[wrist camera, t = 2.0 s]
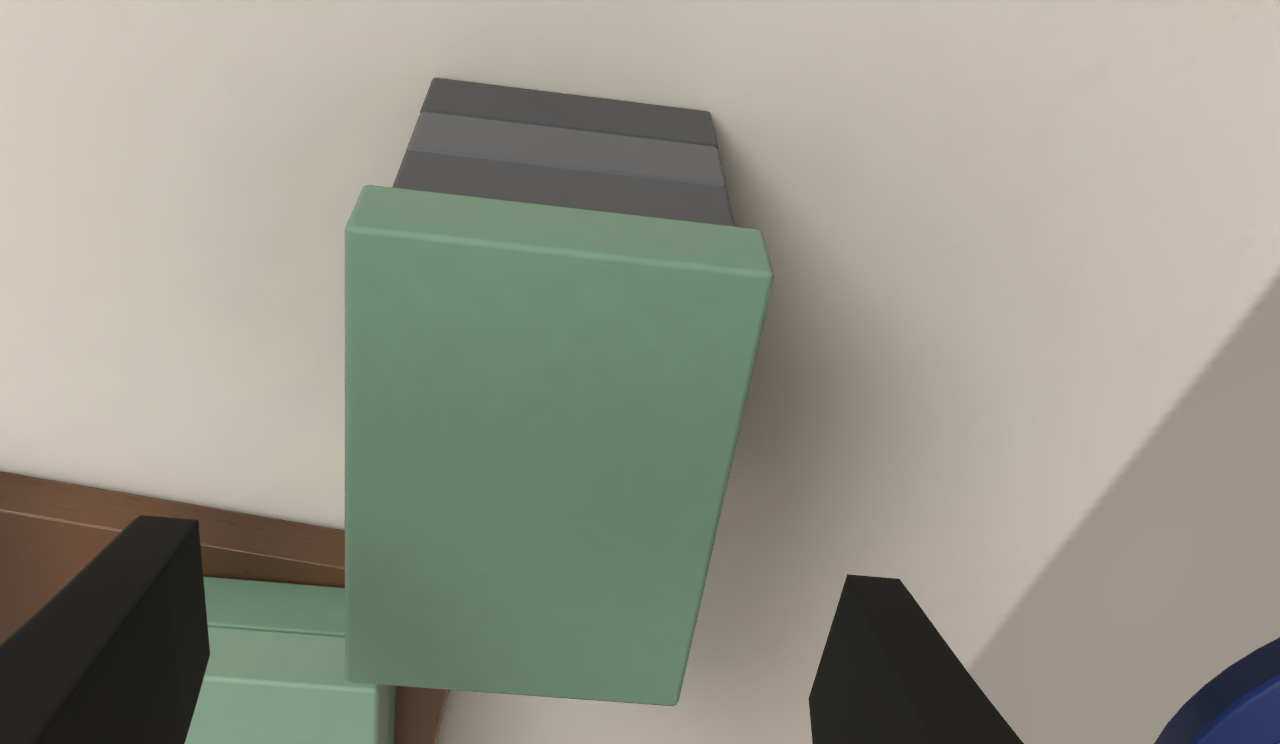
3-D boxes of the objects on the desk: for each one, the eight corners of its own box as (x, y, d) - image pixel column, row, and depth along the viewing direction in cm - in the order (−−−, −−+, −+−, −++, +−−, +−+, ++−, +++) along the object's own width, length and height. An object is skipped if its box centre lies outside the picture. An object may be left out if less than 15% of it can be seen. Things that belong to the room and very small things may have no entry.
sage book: (763, 226, 14) (775, 273, 13) (673, 647, 18) (677, 708, 17) (363, 182, 14) (343, 226, 13) (358, 623, 17) (343, 684, 16)
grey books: (710, 110, 18) (737, 232, 14) (647, 474, 21) (655, 641, 18) (432, 76, 17) (388, 191, 14) (416, 452, 21) (379, 620, 17)
